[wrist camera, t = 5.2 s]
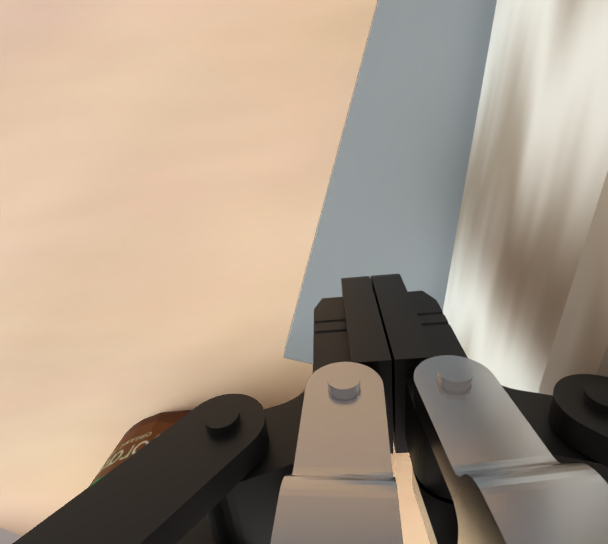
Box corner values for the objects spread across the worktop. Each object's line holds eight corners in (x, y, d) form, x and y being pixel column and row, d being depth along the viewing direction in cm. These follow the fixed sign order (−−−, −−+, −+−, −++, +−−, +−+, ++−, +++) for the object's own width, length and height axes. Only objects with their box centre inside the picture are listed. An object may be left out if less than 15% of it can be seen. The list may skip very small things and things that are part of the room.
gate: (494, -75, 11) (922, -482, 3) (572, -76, 11) (1213, -494, 3) (423, 366, 17) (506, 610, 9) (472, 369, 17) (599, 616, 9)
